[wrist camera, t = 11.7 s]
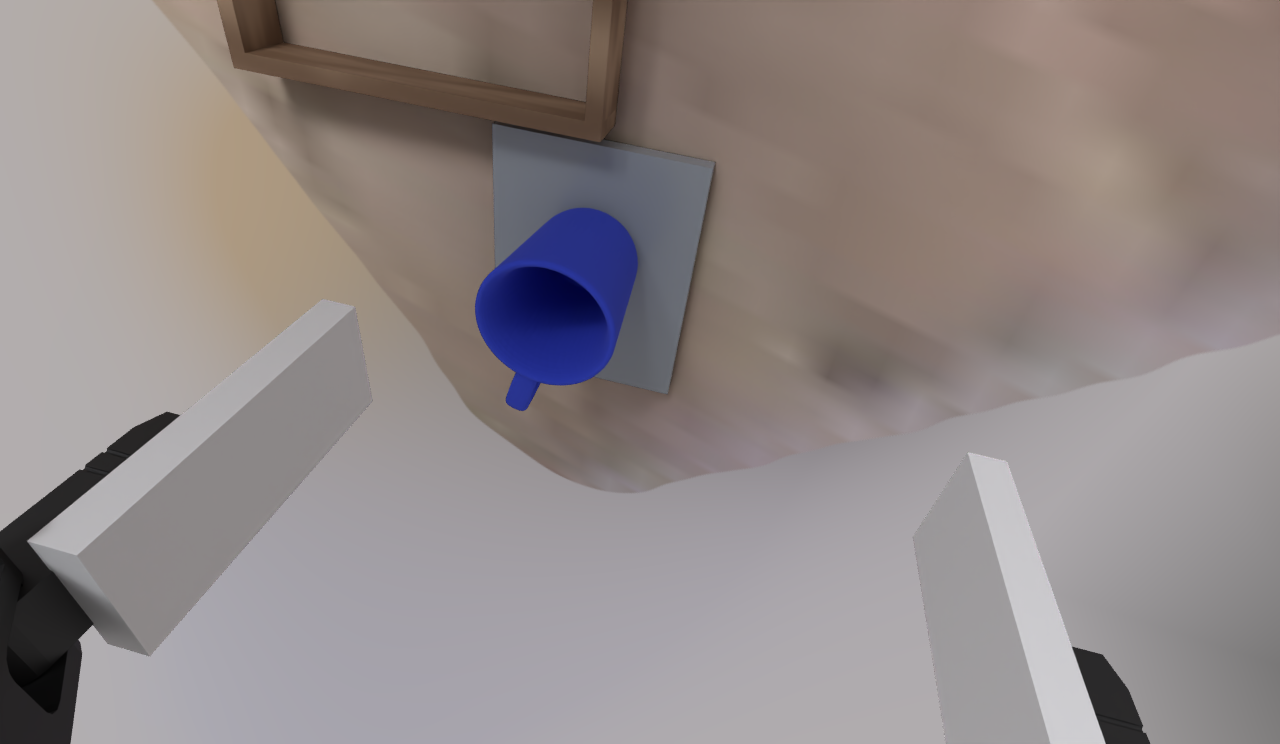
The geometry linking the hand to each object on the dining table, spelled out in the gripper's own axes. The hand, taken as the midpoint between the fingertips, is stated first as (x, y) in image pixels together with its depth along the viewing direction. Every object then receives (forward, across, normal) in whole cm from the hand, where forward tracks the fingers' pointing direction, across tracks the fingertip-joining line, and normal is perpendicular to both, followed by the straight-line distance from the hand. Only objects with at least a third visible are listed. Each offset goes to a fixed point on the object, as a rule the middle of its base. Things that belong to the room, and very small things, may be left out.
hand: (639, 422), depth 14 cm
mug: (+28, -8, -13) cm, 32 cm away
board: (+29, -8, -13) cm, 33 cm away
